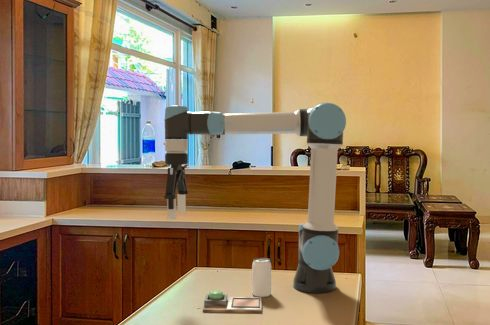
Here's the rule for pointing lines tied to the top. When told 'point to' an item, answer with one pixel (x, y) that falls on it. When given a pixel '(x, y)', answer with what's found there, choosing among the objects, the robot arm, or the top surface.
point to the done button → (216, 295)
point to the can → (261, 277)
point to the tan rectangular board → (233, 304)
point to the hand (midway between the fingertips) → (176, 216)
